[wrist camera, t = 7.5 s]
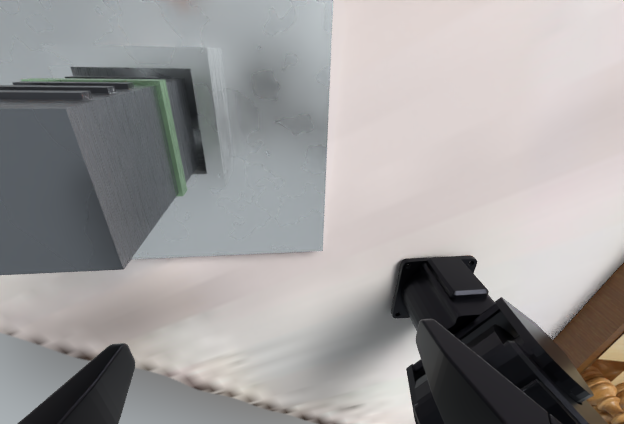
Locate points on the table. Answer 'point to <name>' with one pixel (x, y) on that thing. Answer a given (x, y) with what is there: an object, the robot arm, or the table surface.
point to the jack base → (208, 105)
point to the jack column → (88, 168)
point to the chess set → (600, 347)
